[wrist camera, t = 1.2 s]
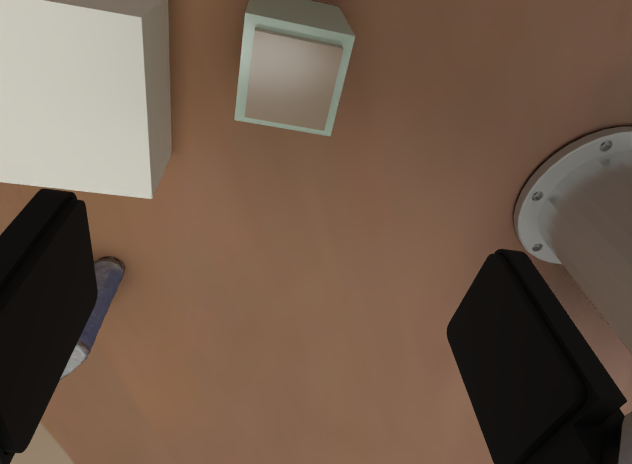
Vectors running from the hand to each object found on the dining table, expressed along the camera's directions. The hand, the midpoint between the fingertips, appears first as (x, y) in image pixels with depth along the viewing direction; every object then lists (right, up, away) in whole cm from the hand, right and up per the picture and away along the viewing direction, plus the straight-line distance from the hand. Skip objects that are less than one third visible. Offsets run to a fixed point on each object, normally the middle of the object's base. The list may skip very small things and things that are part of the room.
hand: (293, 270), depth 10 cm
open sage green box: (-1, +12, +16) cm, 20 cm away
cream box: (-14, +11, +16) cm, 24 cm away
